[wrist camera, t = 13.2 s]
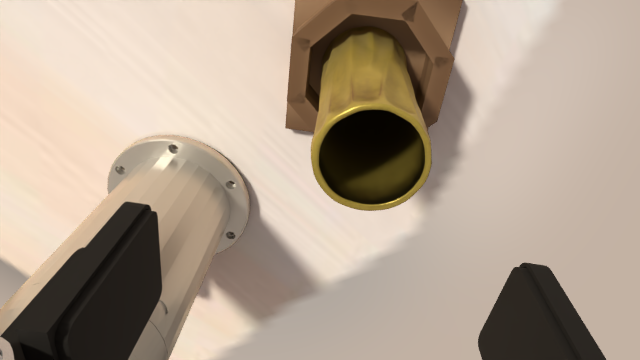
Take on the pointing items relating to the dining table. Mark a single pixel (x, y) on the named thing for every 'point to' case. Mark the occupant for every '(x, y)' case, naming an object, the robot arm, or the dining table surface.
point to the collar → (382, 12)
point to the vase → (369, 124)
